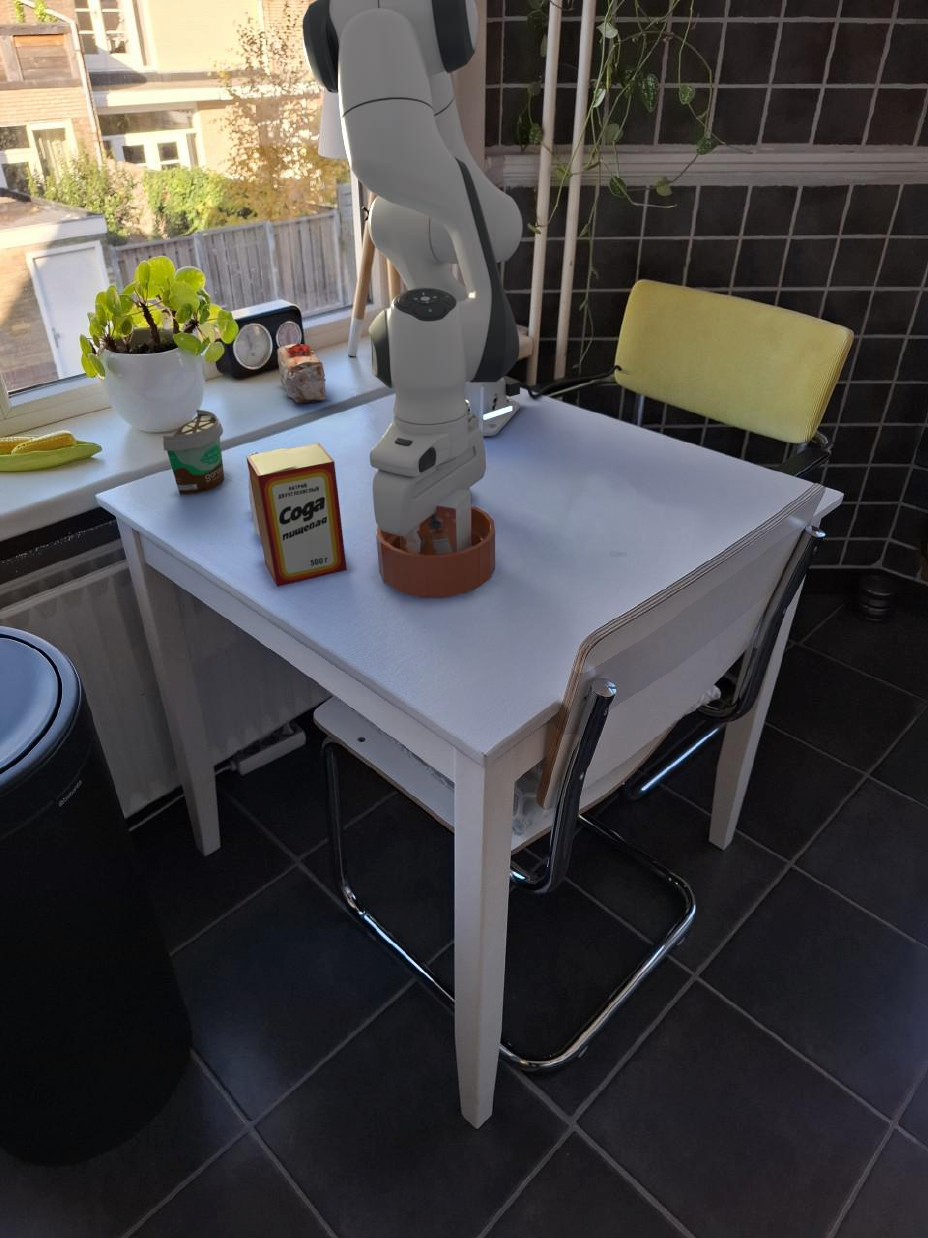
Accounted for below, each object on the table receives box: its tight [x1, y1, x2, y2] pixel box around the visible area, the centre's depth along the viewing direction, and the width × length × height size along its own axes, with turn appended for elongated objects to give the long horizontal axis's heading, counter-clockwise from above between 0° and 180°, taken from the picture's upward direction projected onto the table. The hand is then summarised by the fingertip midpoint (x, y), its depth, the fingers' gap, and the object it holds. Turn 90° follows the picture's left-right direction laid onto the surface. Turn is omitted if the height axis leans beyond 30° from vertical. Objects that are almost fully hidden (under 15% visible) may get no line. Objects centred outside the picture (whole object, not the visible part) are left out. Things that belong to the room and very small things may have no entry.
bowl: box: [375, 504, 496, 599], centre depth 113 cm, size 15×15×6 cm
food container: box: [162, 409, 225, 495], centre depth 137 cm, size 12×6×10 cm, turn 168°
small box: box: [400, 489, 472, 555], centre depth 112 cm, size 8×6×10 cm
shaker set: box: [248, 451, 261, 538], centre depth 123 cm, size 12×4×11 cm, turn 14°
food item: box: [277, 342, 327, 404], centre depth 171 cm, size 14×8×10 cm, turn 24°
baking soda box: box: [245, 442, 348, 588], centre depth 112 cm, size 10×6×16 cm
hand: (436, 535), depth 112 cm, fingers open, 8 cm apart
